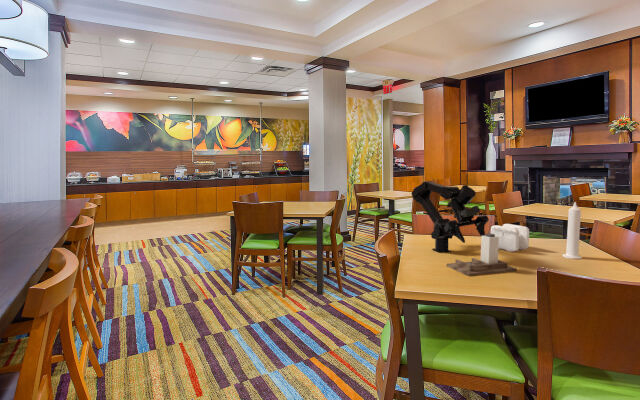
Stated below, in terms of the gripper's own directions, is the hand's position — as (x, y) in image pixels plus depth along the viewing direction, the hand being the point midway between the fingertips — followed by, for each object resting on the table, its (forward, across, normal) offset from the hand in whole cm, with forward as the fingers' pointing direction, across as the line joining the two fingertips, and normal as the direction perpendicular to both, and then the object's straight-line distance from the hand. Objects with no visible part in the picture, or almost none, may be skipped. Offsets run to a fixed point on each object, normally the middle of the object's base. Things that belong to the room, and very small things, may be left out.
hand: (474, 240), depth 156 cm
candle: (+12, +46, +10) cm, 49 cm away
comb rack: (+13, -4, -1) cm, 13 cm away
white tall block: (+12, 0, -1) cm, 12 cm away
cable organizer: (-2, +29, +24) cm, 38 cm away
